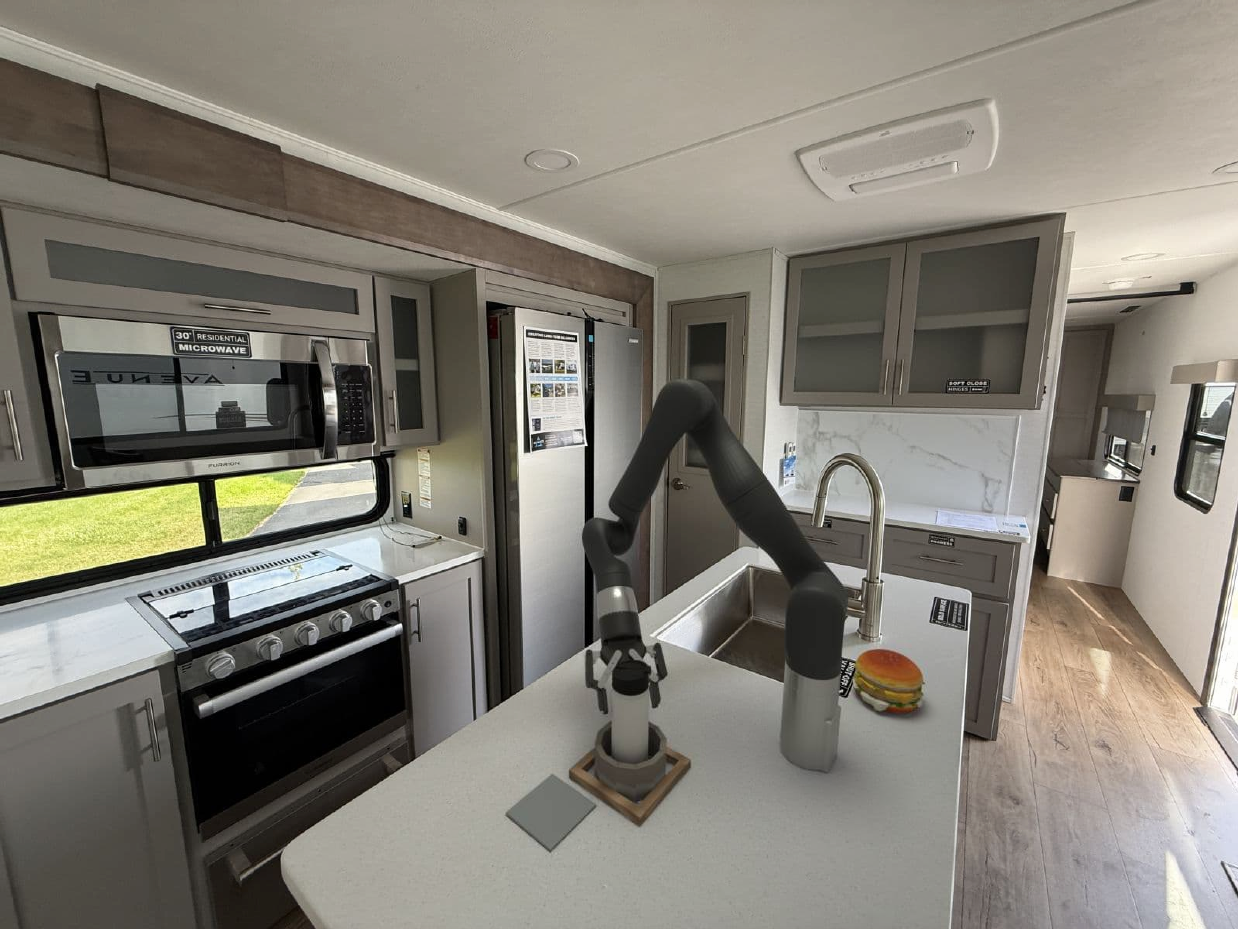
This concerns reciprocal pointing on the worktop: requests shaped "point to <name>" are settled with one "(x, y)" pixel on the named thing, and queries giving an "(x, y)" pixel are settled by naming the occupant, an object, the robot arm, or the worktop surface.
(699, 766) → the worktop surface
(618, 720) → the travel mug
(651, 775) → the ring holder
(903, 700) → the burger
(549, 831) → the coaster
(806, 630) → the robot arm
